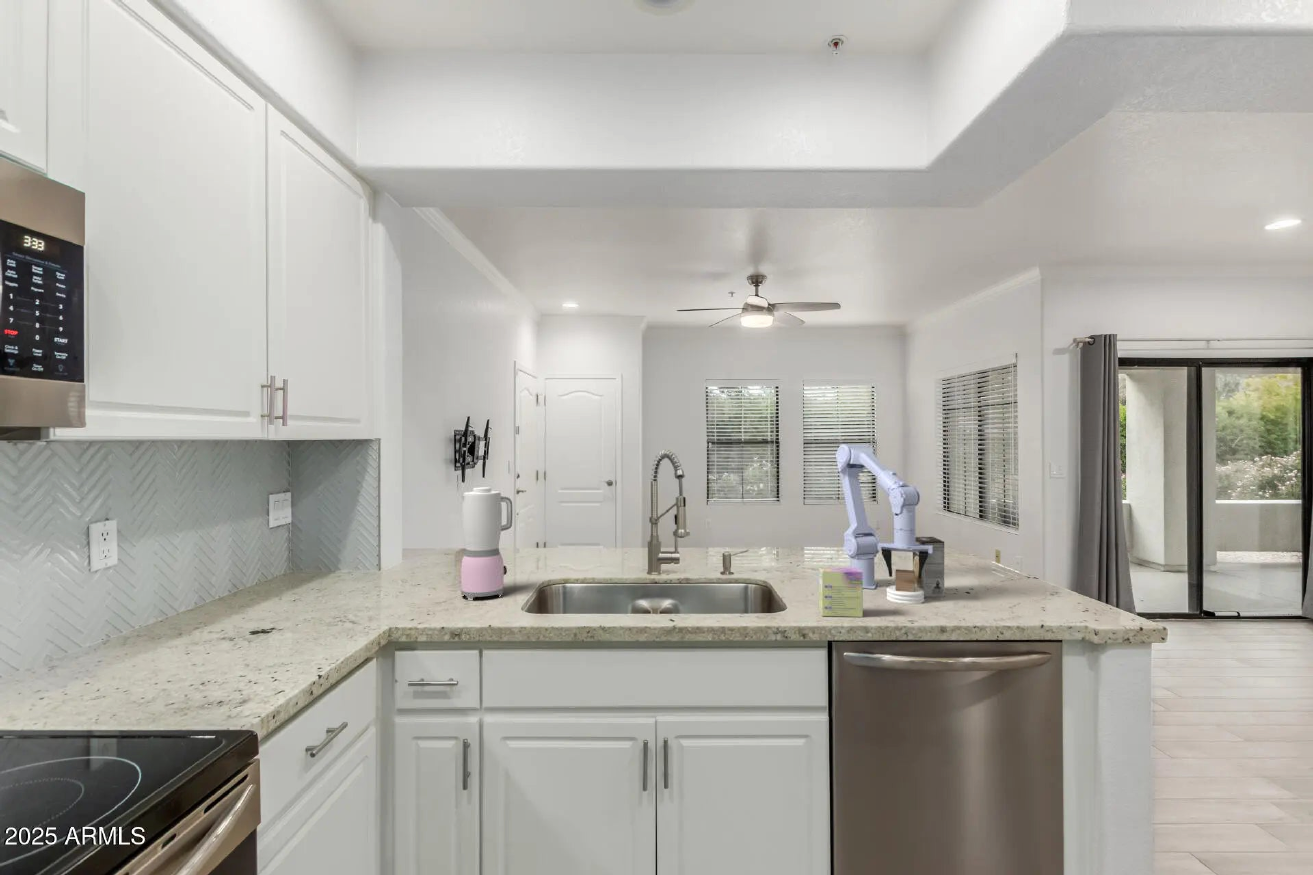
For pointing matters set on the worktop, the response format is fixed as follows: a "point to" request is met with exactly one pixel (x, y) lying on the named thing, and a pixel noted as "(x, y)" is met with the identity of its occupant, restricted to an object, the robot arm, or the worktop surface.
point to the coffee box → (930, 568)
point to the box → (841, 592)
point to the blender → (483, 542)
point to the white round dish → (905, 596)
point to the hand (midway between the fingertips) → (905, 577)
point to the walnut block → (905, 580)
